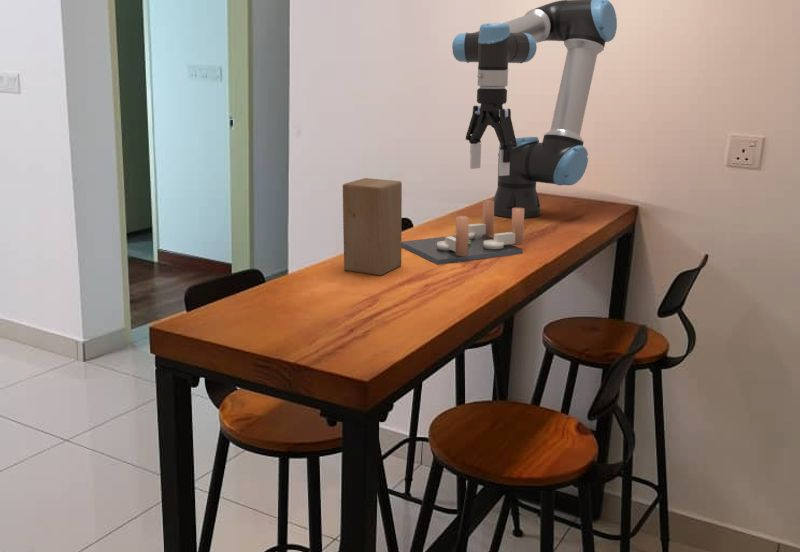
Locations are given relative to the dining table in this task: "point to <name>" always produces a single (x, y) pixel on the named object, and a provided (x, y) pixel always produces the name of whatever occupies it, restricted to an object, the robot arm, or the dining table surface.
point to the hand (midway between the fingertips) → (489, 171)
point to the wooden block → (372, 225)
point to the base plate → (475, 251)
